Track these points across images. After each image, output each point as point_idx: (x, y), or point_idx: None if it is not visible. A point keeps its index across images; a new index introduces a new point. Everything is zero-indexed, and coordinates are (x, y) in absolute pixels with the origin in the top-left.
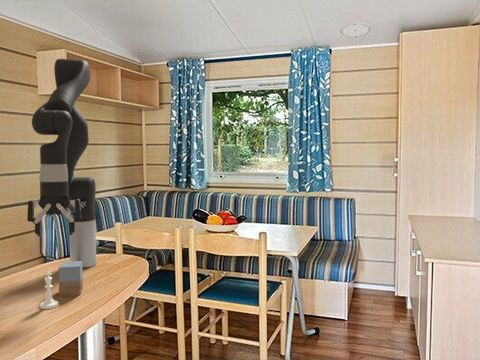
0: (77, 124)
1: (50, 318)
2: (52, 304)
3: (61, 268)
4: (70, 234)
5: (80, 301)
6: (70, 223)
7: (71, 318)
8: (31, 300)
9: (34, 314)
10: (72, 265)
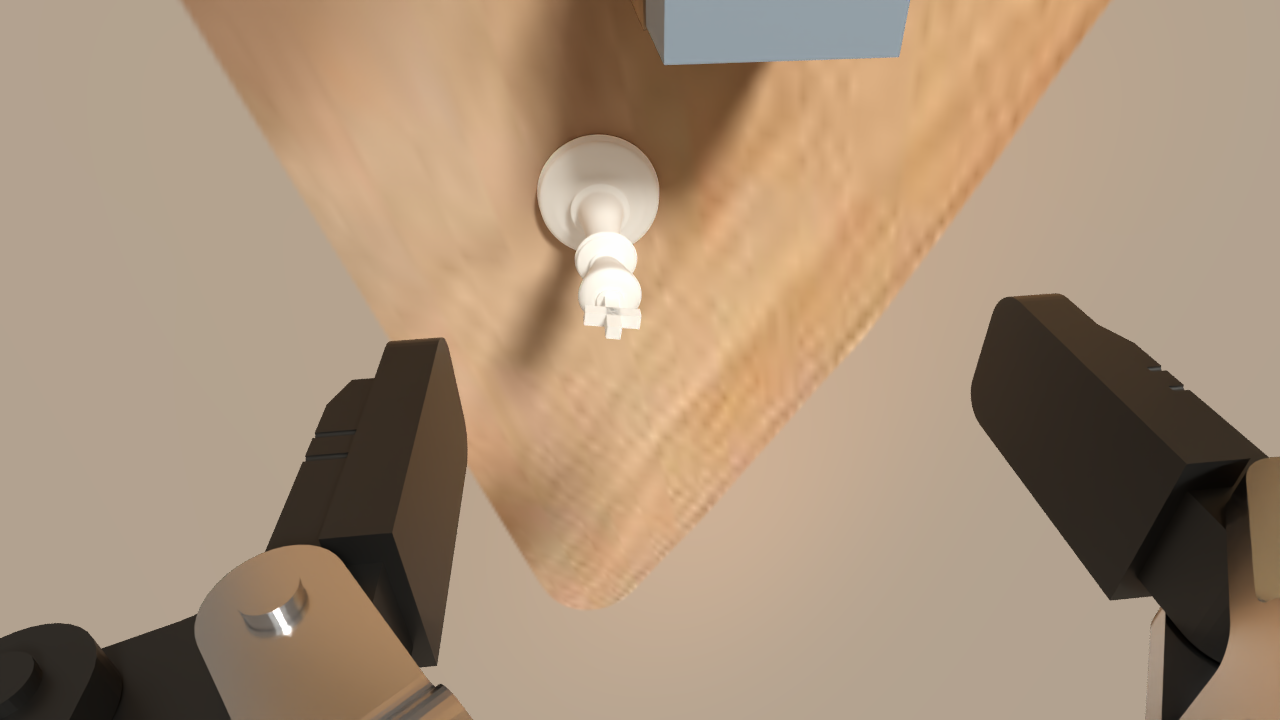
0: None
1: (648, 372)
2: (630, 240)
3: (692, 58)
4: (989, 401)
5: (800, 147)
6: (1125, 582)
7: (755, 385)
8: (426, 53)
9: (545, 313)
10: (817, 2)
